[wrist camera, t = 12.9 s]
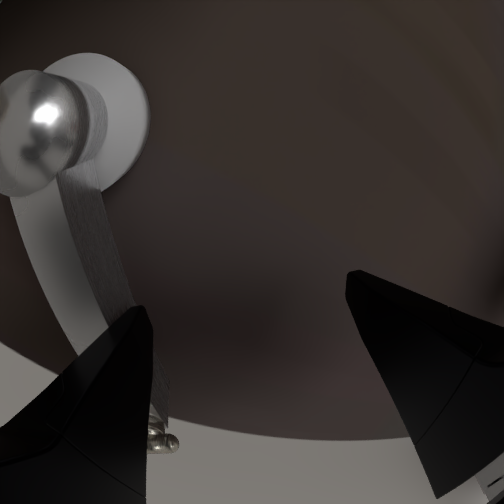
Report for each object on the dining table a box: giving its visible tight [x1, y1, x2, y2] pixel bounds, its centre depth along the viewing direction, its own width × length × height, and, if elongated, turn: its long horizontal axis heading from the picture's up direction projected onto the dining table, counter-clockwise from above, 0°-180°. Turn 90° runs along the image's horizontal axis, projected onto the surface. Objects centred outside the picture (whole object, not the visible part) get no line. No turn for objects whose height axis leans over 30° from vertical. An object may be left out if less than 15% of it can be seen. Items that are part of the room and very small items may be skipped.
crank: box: [0, 70, 179, 454], centre depth 7 cm, size 13×3×4 cm, turn 6°
